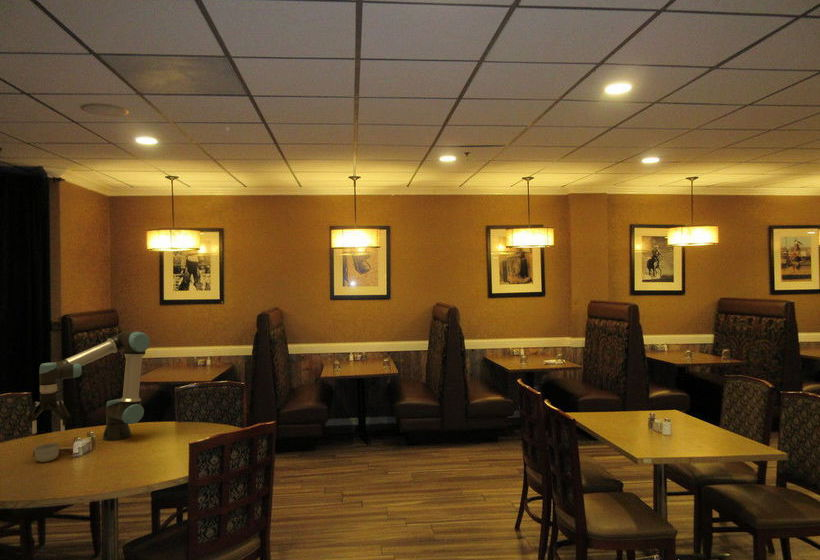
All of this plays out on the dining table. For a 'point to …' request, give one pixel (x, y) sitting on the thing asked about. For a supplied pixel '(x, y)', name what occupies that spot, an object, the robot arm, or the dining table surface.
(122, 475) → the dining table surface
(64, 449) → the stop bar
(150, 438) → the dining table surface
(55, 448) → the teacup
